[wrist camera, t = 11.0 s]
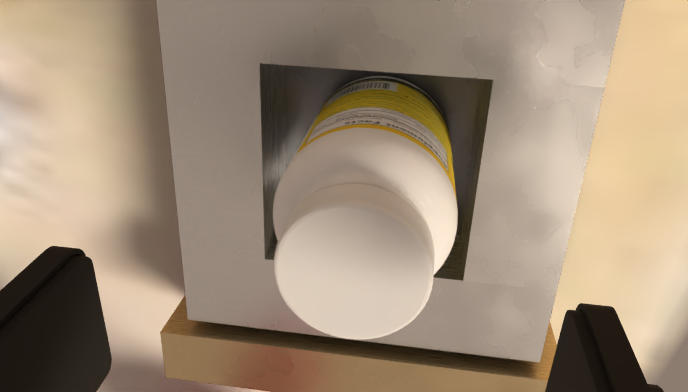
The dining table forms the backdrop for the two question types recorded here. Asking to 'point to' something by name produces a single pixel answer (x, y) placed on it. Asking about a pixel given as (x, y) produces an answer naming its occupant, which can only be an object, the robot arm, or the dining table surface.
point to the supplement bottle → (366, 210)
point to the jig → (469, 173)
